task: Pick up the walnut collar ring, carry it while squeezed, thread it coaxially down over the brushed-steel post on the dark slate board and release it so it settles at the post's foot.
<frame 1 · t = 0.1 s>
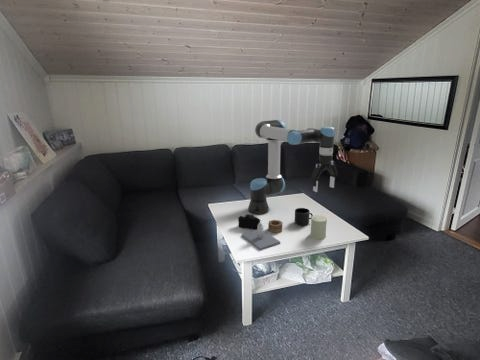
hand: (323, 189, 175), 28 cm above the table, fingers open, 13 cm apart
film camera: (250, 226, 193), on the table
can: (317, 236, 179), on the table
collar: (275, 230, 187), on the table
post board: (260, 239, 175), on the table
mug: (303, 223, 196), on the table
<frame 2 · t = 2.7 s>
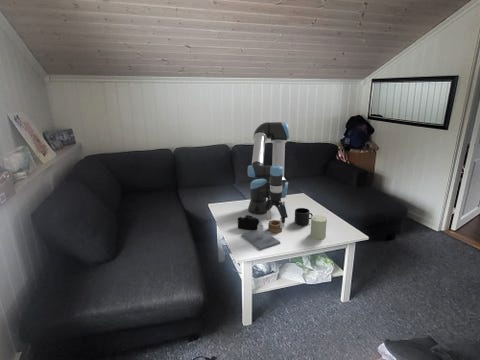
hand: (275, 223, 185), 5 cm above the table, fingers open, 13 cm apart
film camera: (249, 227, 192), on the table
everything else where it was.
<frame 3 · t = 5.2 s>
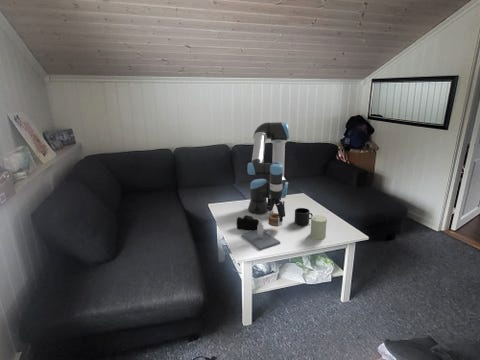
hand: (275, 222, 186), 5 cm above the table, fingers closed on collar, 8 cm apart
collar: (275, 223, 186), point 4 cm above the table, touching gripper
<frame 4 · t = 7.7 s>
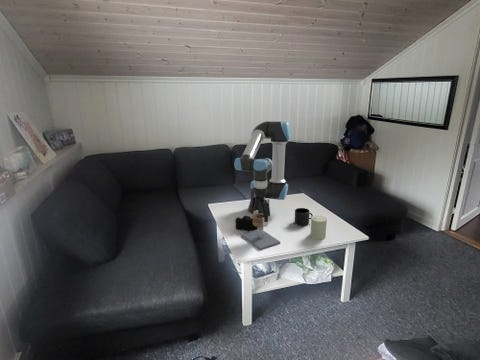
hand: (260, 223, 172), 10 cm above the table, fingers closed on collar, 8 cm apart
collar: (260, 224, 172), point 10 cm above the table, touching gripper
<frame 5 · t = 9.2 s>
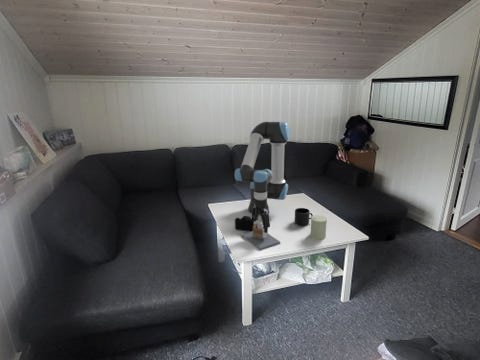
hand: (260, 233, 174), 4 cm above the table, fingers closed on collar, 8 cm apart
collar: (260, 234, 174), point 4 cm above the table, touching gripper
when the fingers open (3 cm above the table, at t = 10.3 s): collar drops 1 cm, resting on post board.
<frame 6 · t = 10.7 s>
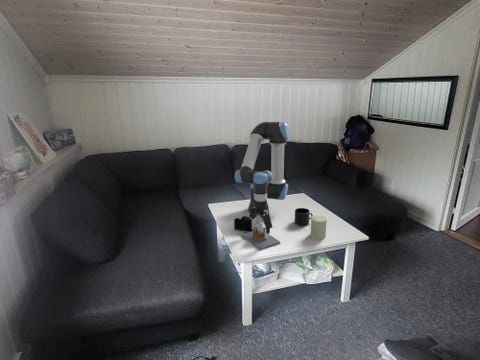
hand: (260, 233, 174), 4 cm above the table, fingers open, 13 cm apart
collar: (260, 237, 175), point 1 cm above the table, touching post board
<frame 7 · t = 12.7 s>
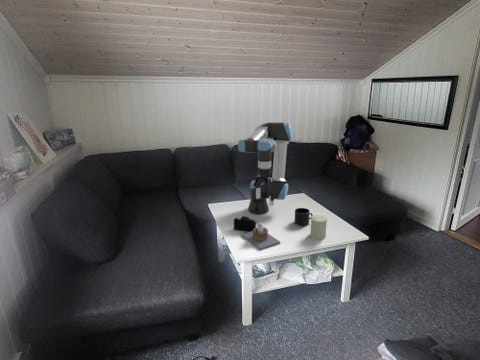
hand: (264, 201, 175), 22 cm above the table, fingers open, 13 cm apart
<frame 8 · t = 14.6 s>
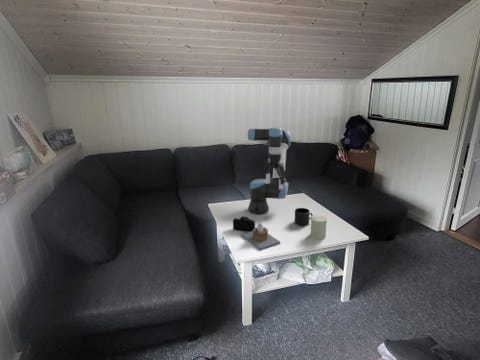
hand: (274, 186, 187), 27 cm above the table, fingers open, 13 cm apart
at the end: collar 0.0 cm off-centre on the post board, point 1.2 cm above the post board's base; the gripper is holding nothing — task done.
